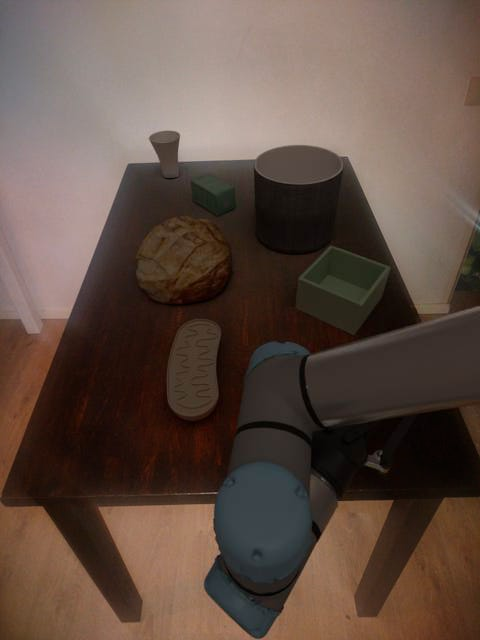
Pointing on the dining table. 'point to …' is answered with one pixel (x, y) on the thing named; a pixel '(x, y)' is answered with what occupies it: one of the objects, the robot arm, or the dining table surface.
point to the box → (213, 194)
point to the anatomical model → (194, 370)
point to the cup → (166, 150)
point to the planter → (296, 197)
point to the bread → (184, 261)
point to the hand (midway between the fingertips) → (389, 353)
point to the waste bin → (341, 288)
